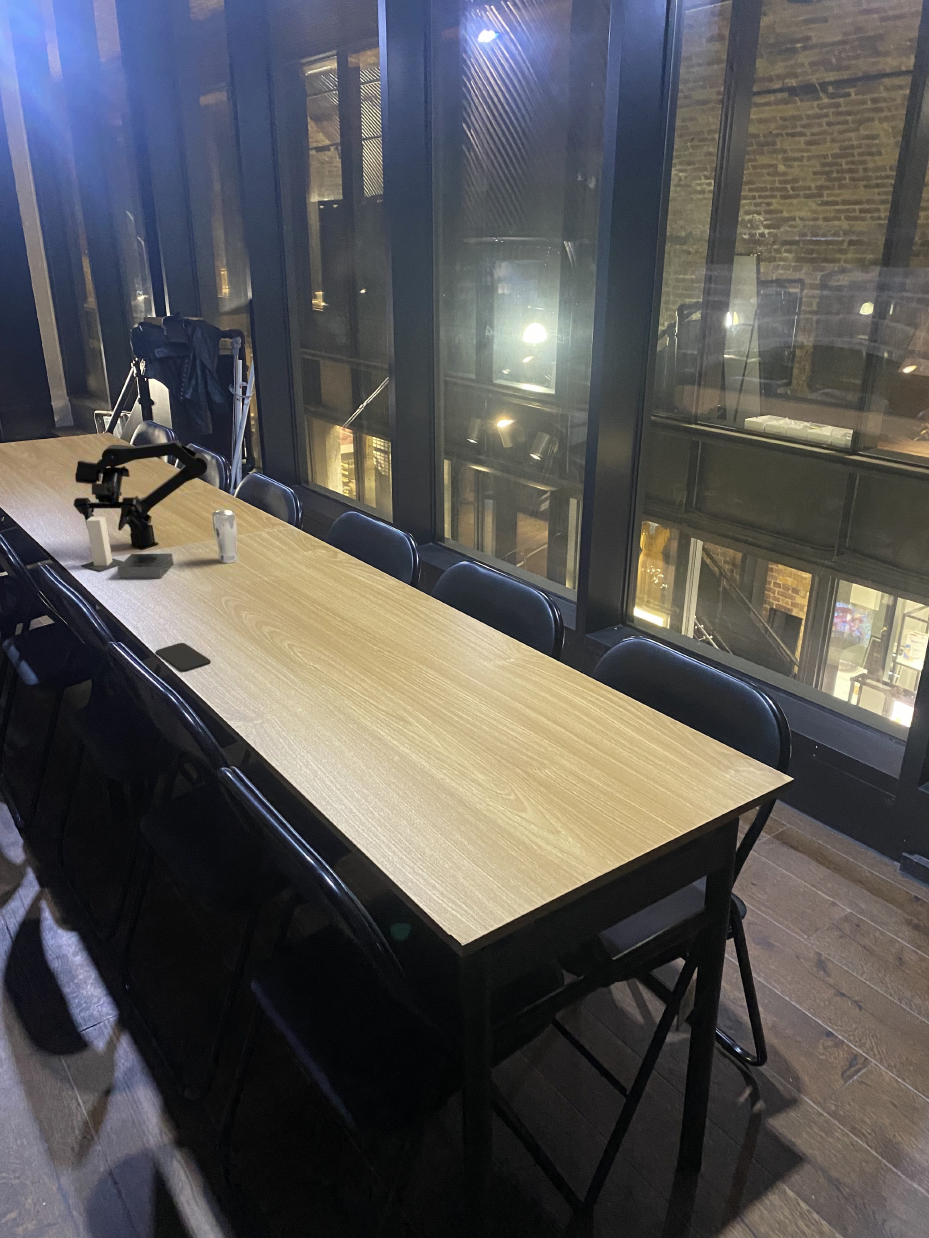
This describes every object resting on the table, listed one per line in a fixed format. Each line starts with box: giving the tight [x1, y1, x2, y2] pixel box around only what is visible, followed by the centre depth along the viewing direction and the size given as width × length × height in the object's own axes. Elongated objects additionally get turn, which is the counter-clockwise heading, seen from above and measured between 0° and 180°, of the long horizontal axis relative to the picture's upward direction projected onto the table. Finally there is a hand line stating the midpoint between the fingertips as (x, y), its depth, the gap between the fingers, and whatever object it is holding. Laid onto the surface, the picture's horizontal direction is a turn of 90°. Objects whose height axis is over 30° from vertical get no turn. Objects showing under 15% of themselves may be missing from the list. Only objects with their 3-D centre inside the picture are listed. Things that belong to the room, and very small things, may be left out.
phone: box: [155, 642, 212, 673], centre depth 203 cm, size 7×1×15 cm
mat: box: [80, 557, 125, 573], centre depth 264 cm, size 9×9×1 cm
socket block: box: [117, 553, 174, 580], centre depth 258 cm, size 12×12×4 cm
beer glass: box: [211, 509, 240, 564], centre depth 265 cm, size 7×7×15 cm
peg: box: [85, 516, 113, 566], centre depth 261 cm, size 4×4×14 cm
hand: (104, 530), depth 264 cm, fingers open, 9 cm apart
